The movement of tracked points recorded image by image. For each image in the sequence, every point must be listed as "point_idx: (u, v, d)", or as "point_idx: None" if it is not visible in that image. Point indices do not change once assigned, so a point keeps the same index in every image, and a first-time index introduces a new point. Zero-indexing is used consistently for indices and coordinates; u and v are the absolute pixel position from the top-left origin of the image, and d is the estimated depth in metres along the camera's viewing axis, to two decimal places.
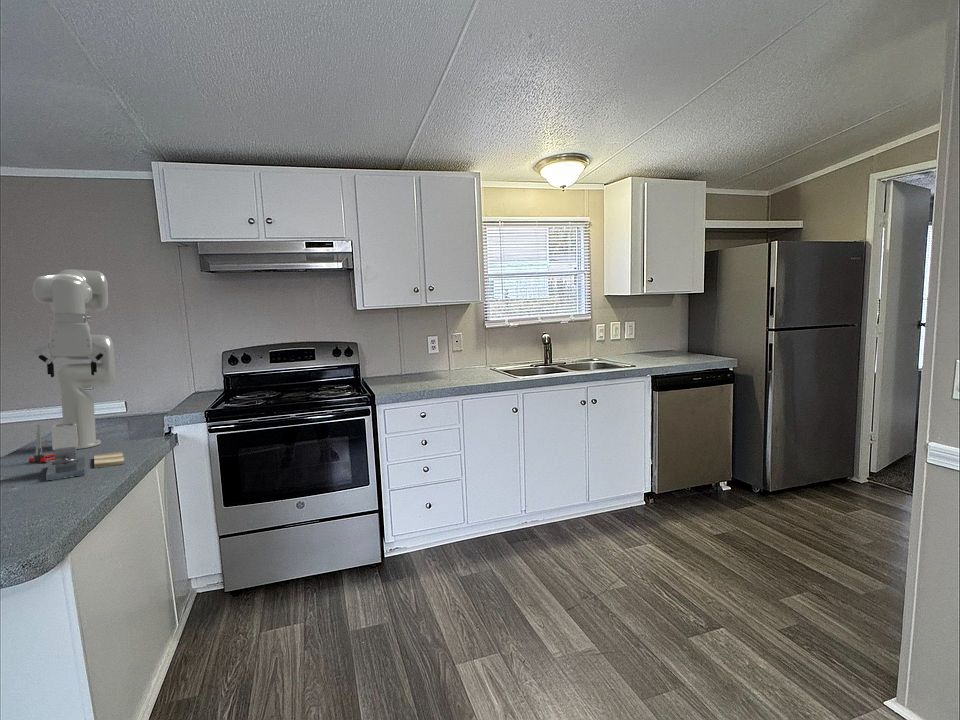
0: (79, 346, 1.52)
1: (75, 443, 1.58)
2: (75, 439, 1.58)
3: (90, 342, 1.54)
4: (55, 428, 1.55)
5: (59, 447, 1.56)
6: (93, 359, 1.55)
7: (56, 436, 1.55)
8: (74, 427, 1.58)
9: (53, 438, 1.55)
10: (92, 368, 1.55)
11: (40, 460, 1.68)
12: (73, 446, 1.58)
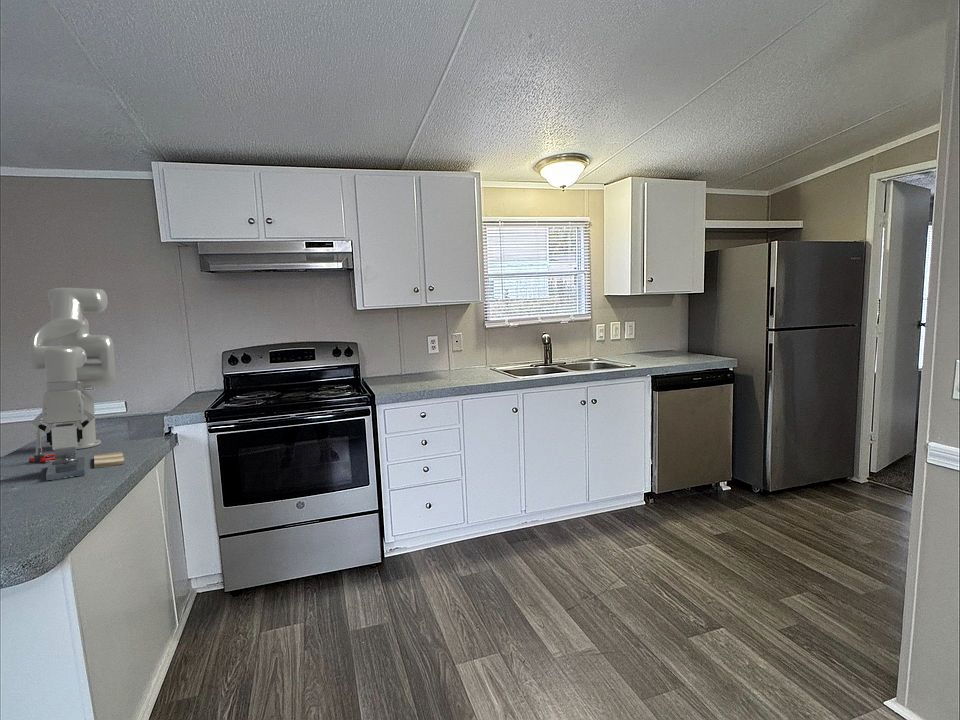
0: (71, 412, 1.57)
1: (75, 443, 1.58)
2: (75, 439, 1.58)
3: (82, 407, 1.59)
4: (55, 428, 1.55)
5: (59, 447, 1.56)
6: (79, 426, 1.60)
7: (56, 436, 1.55)
8: (74, 427, 1.57)
9: (53, 438, 1.55)
10: (78, 435, 1.59)
11: (40, 460, 1.68)
12: (73, 446, 1.58)
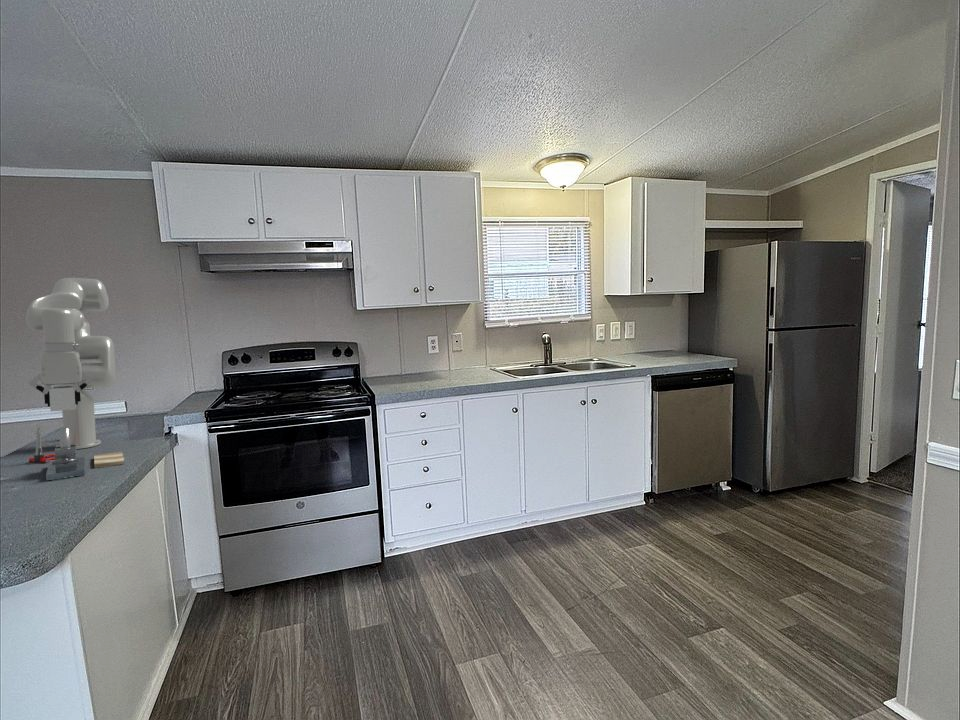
0: (69, 374, 1.57)
1: (73, 405, 1.57)
2: (73, 401, 1.57)
3: (80, 369, 1.58)
4: (53, 389, 1.54)
5: (57, 409, 1.55)
6: (77, 388, 1.59)
7: (54, 397, 1.54)
8: (72, 389, 1.57)
9: (51, 399, 1.54)
10: (76, 398, 1.59)
11: (40, 460, 1.68)
12: (71, 408, 1.57)
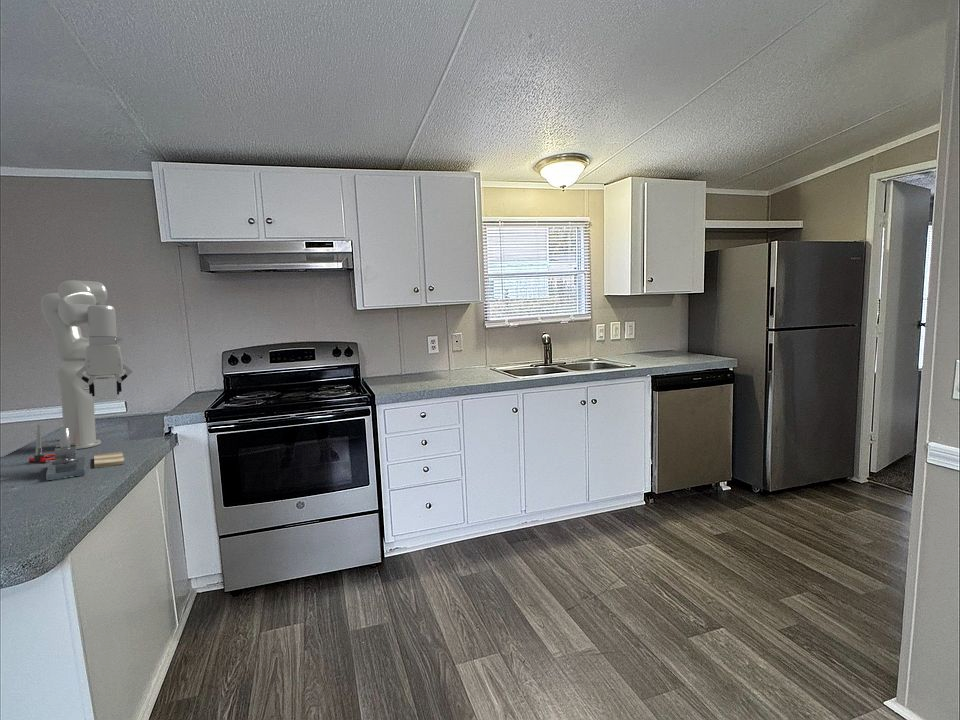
0: (111, 365, 1.68)
1: (115, 395, 1.68)
2: (115, 391, 1.68)
3: (121, 361, 1.70)
4: (97, 380, 1.65)
5: (101, 398, 1.66)
6: (119, 379, 1.70)
7: (98, 387, 1.65)
8: (114, 380, 1.68)
9: (95, 389, 1.65)
10: (117, 388, 1.70)
11: (40, 460, 1.68)
12: (113, 397, 1.68)
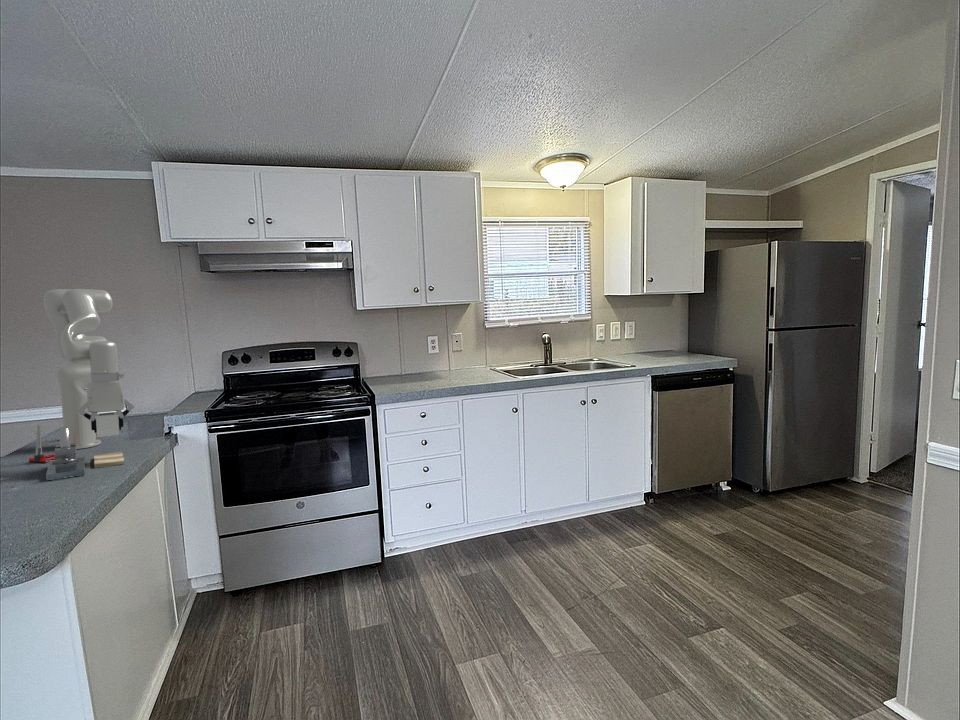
0: (113, 402, 1.69)
1: (117, 431, 1.69)
2: (117, 427, 1.69)
3: (123, 397, 1.71)
4: (99, 416, 1.66)
5: (103, 434, 1.67)
6: (120, 415, 1.71)
7: (100, 424, 1.66)
8: (116, 416, 1.69)
9: (97, 426, 1.66)
10: (119, 424, 1.71)
11: (40, 460, 1.68)
12: (115, 434, 1.69)
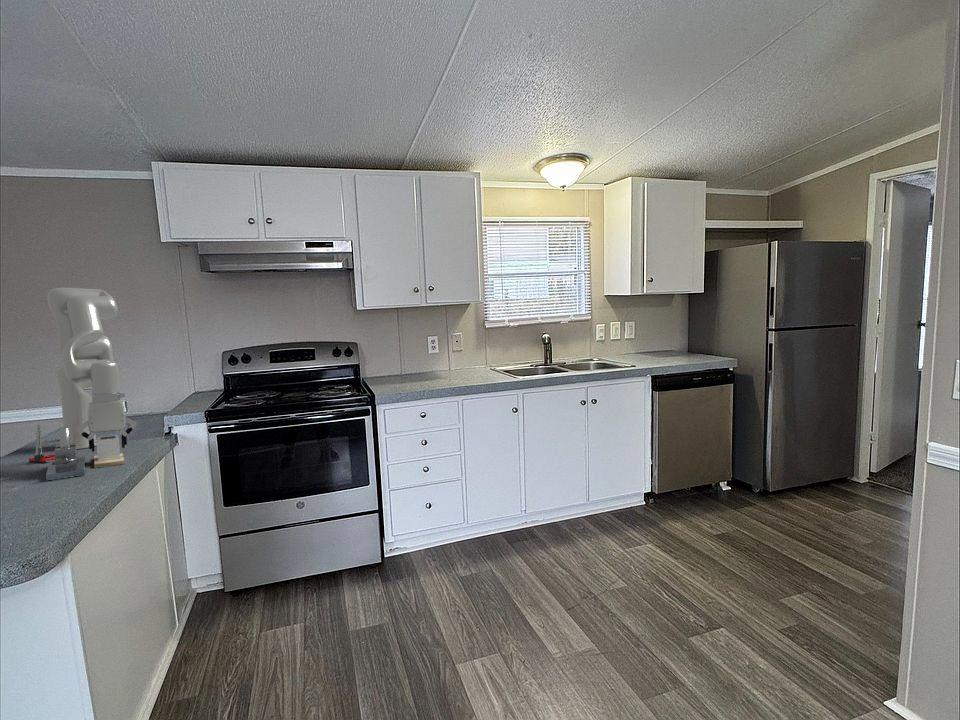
0: (114, 421, 1.69)
1: (118, 454, 1.70)
2: (118, 451, 1.70)
3: (123, 417, 1.71)
4: (100, 441, 1.67)
5: (104, 458, 1.68)
6: (124, 433, 1.72)
7: (101, 448, 1.67)
8: (117, 440, 1.70)
9: (98, 450, 1.67)
10: (123, 442, 1.72)
11: (40, 460, 1.68)
12: (116, 457, 1.70)
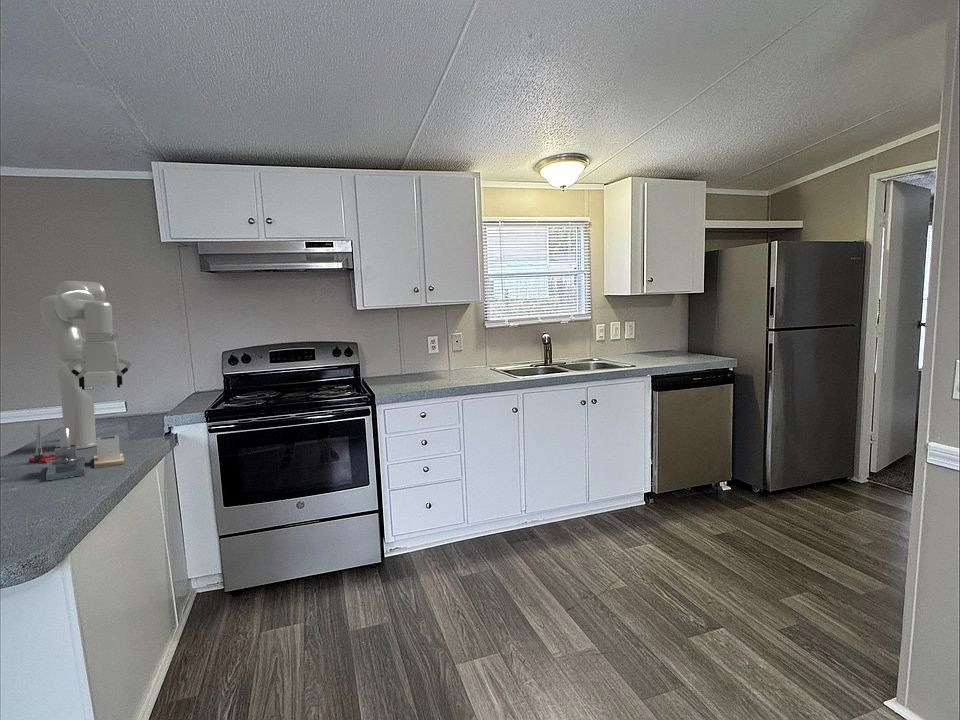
0: (107, 362, 1.69)
1: (118, 454, 1.70)
2: (118, 451, 1.70)
3: (117, 358, 1.71)
4: (100, 441, 1.67)
5: (104, 458, 1.68)
6: (119, 373, 1.72)
7: (101, 448, 1.67)
8: (117, 440, 1.70)
9: (98, 450, 1.67)
10: (118, 381, 1.72)
11: (40, 460, 1.68)
12: (116, 457, 1.70)
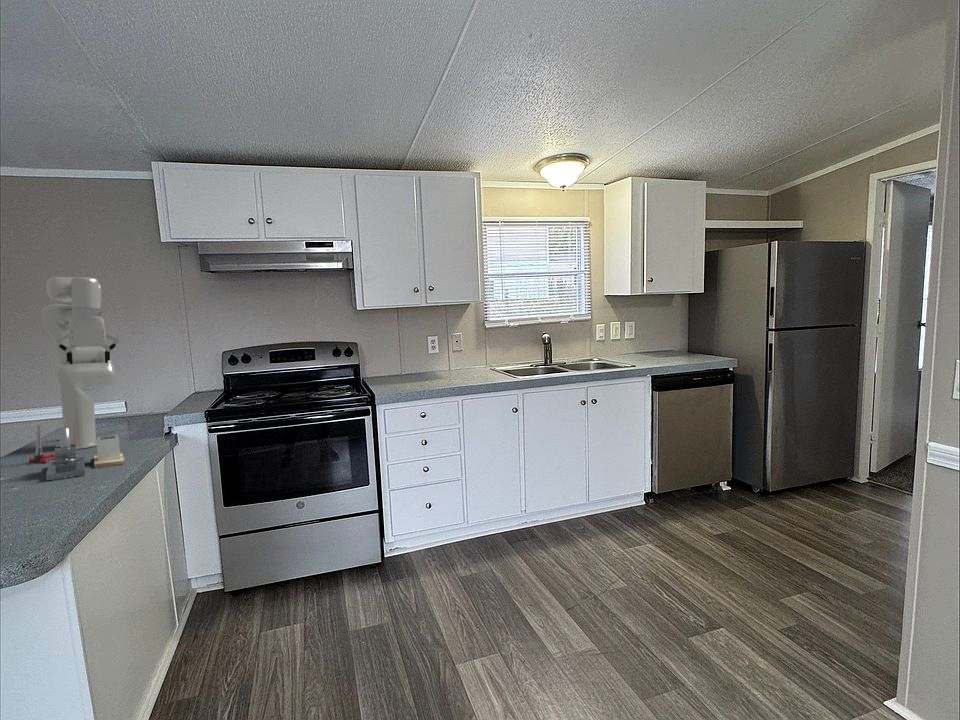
0: (95, 337, 1.71)
1: (118, 454, 1.70)
2: (118, 451, 1.70)
3: (104, 333, 1.73)
4: (100, 441, 1.67)
5: (104, 458, 1.68)
6: (107, 349, 1.74)
7: (101, 448, 1.67)
8: (117, 440, 1.70)
9: (98, 450, 1.67)
10: (106, 357, 1.74)
11: (40, 460, 1.68)
12: (116, 457, 1.70)
